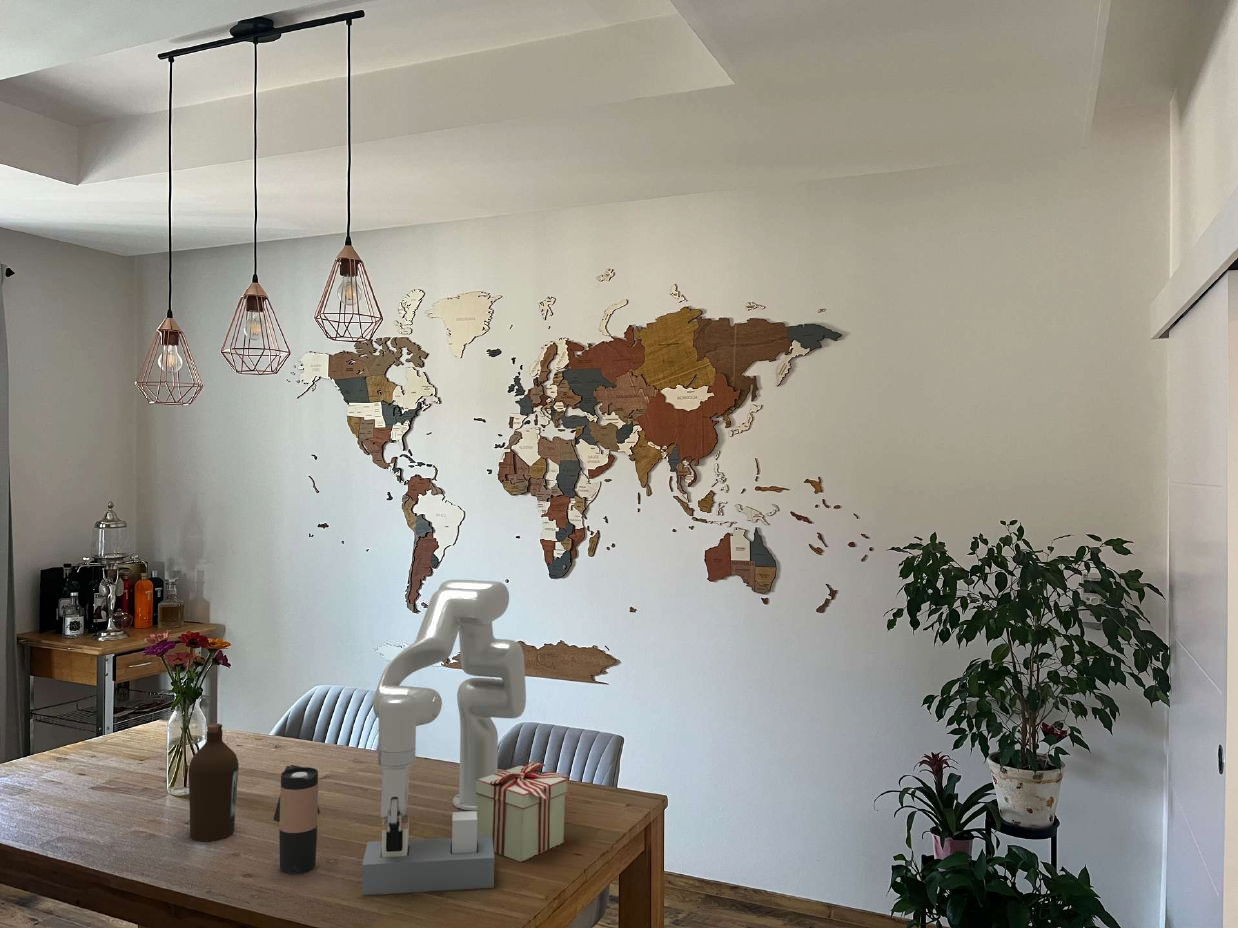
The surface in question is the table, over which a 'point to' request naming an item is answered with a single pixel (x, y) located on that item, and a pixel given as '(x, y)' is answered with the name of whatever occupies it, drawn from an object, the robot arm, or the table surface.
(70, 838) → the table surface
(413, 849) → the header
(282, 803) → the travel mug
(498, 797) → the gift box
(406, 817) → the cream plug
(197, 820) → the olive oil
